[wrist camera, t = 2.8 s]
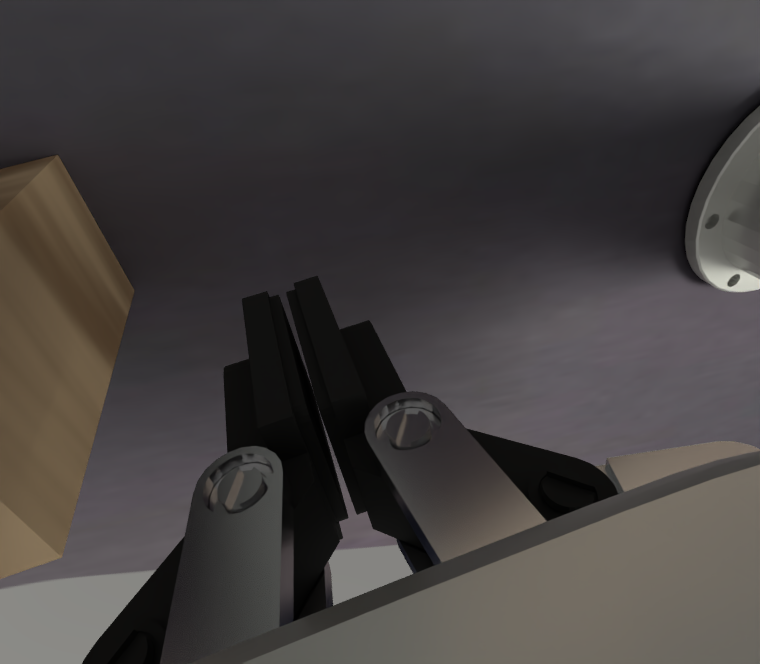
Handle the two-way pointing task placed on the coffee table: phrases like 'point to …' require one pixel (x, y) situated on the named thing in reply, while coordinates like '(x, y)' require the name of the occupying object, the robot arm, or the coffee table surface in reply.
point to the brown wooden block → (50, 354)
